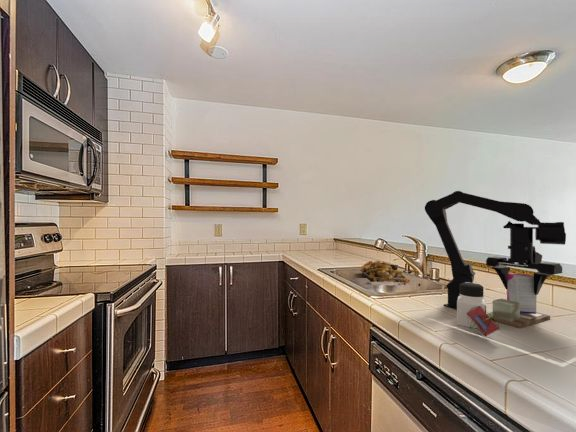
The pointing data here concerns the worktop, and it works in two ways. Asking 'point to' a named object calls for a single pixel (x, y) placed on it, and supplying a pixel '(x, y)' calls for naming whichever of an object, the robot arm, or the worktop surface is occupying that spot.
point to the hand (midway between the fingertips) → (521, 291)
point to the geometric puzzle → (482, 320)
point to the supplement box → (522, 292)
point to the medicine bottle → (469, 302)
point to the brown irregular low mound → (383, 274)
